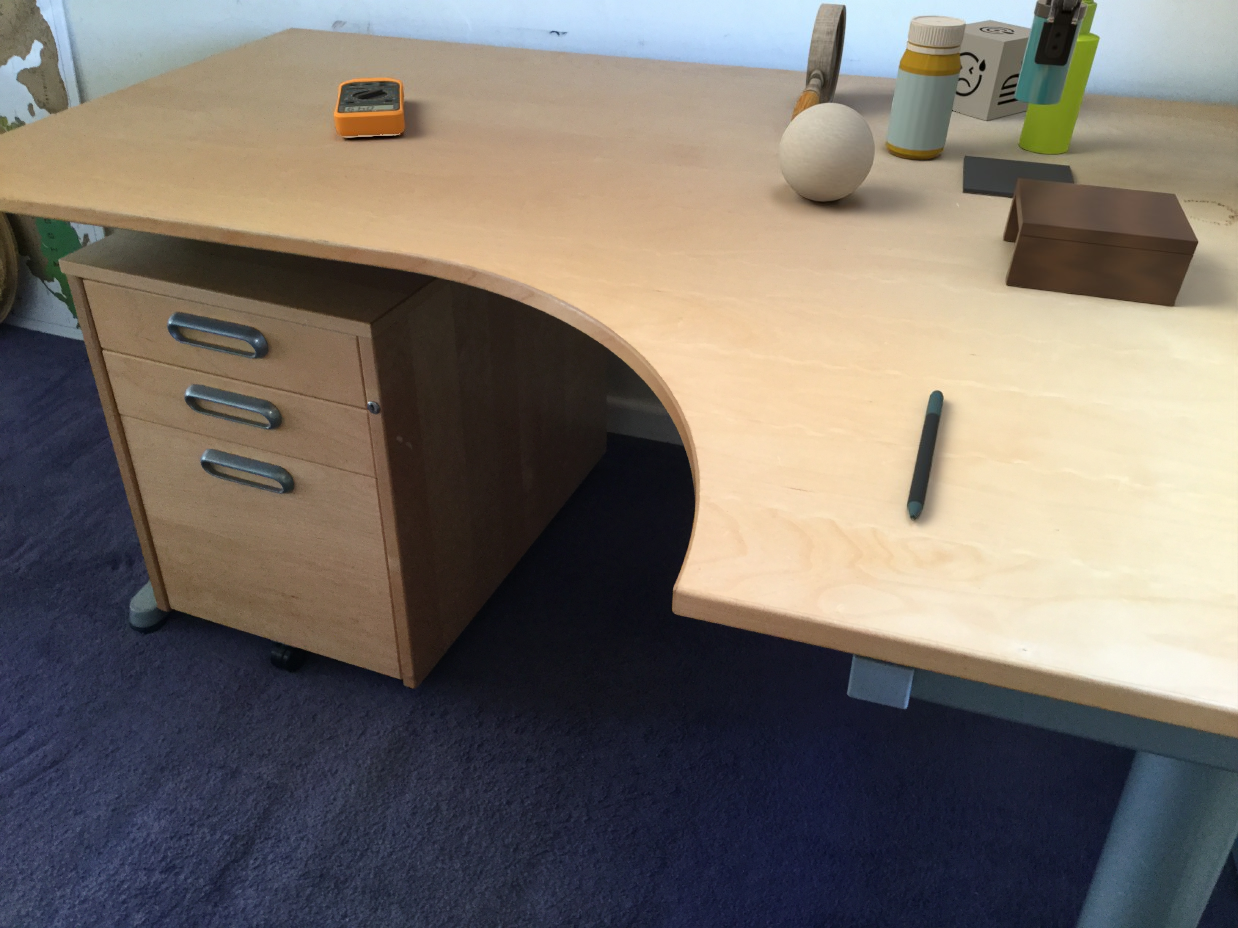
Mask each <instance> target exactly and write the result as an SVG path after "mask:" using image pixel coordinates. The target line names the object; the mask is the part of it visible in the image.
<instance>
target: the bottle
mask: <svg viewBox="0 0 1238 928" xmlns="http://www.w3.org/2000/svg"><path fill="white" fill-rule="evenodd" d="M909 21H910V22H909V26H908V27H909V28H908V32H907V41H906V46H905V50H904V52H903V54H902V56H901V58H900V60H899V64H898V69H897V75H896V80H895V86H894V93H893V98H892V103H891V108H890V115H889V121H888V126H887V133H886V138H885V139H886V140H885V147H886V148H887V150H888V152H889V153H890V154H891V155H894V156H896V157H898V158H901V159H907V160H920V161H921V160H932V159H935V158H937V157H938V156H939V155H940V154H942V153H943V151H944V149H945V145H946V142H947V141H946V140H947V137H948V131H949V127H950V122H951V117H952V113H953V111H952V108H953V104H954V99H955V94H956V89H957V84H958V80H959V75H960V69H961V61H960V53H959V52H960V50H961V43H962V41H963V37H964V32H965V27H966V24H967V22H966V20H964V19H962V18H958V17H954V16H948V15H933V14H931V15H917V16H916V15H915V16H913V17H911V20H909Z"/></svg>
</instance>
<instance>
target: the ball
mask: <svg viewBox="0 0 1238 928" xmlns="http://www.w3.org/2000/svg"><path fill="white" fill-rule="evenodd" d="M790 122H791V123H789V124H788V125H787V127H786V128H785V130H784V132H783V134H782V136H781V140H780V144H779V146H778V147H779V148H778V163H779V167H780V171H781V174H782V177H783V178H784V180H785V182H786V183H787V185H788V186H789V187H790V188H791V189H792V190H793V191H795V193H797V194H798V195H799V196H801V197H803V198H804V199H807V200H811V201H813V202H814V201H815V202H833V201H836V200H840V199H842V198H844V197H847V196H849V195H850V194H852V193H853V192H854V191H856V190H857V189H858V188H859V187H860V186H861V185H862V184H863V182H865V180H866V178H867V177H868V176H869V173H870V172H871V169H872V166H873V163H874V159H875V154H876V153H875V151H876V149H875V147H876V146H875V145H876V144H875V138H874V134H873V132H872V129H871V127H870V126H869V123H868V122H867V120H866V119H865V118H864V117H863V115H861V114H860V113H859V112H858V111H856V110H855V109H854V108H852V107H850V106H848V105H845V104H842V103H837V102H832V103H823V104H818V105H815V106H812V107H810V108H808V109H806V110H804V111H803V112H801V113H800V114H799V115H797V116H796V117H795V118H794V119H793V120H792V121H791V120H790Z"/></svg>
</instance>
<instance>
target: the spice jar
mask: <svg viewBox="0 0 1238 928" xmlns="http://www.w3.org/2000/svg"><path fill="white" fill-rule="evenodd" d="M1051 2H1052V0H1037V1H1035V6H1034V9H1033V17H1032V22H1031V26H1030V28H1031V30H1030V34H1029V38H1028V42H1027V46H1026V50H1025V54H1024V58H1023V62H1022V66H1021V70H1020V74H1019V78H1018V82H1017V86H1016V90H1015V94H1014V98H1015V99H1017V100H1019V101H1022V102H1025V103H1030V104H1037V105H1052V104H1057V103H1059V102H1060V100H1061V97H1062V93H1063V90H1064V86H1065V82H1066V79H1067V75H1068V72H1069V68H1070V64H1071V61H1072V57H1073V54H1074V50H1075V46H1076V43H1077V39H1078V35H1079V32H1080V28H1081V25H1082V21H1083V18H1084V17H1085V14H1086V10H1087V7H1088V5H1087V4H1086V3H1083V2H1082V4H1081V8H1080V12H1079V16H1078V20H1077V23H1076V24H1077V29H1076V32H1075V36H1074V40H1073V43H1072V47H1071V50H1070V54H1069V58H1068V61H1067V64H1066V65H1064V66H1055V65H1043V64H1036V63H1035V61H1034V59H1035V55H1036V51H1037V47H1038V43H1039V39H1040V35H1041V31H1042V27H1043V23H1044V22H1047V20H1048V15H1049V11H1050V6H1051Z"/></svg>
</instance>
